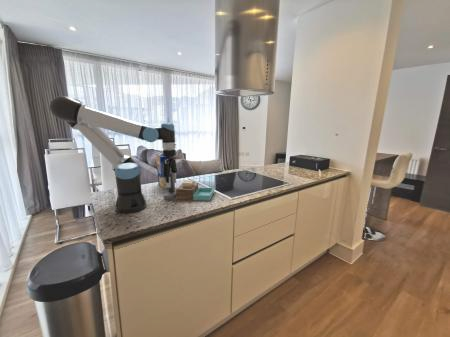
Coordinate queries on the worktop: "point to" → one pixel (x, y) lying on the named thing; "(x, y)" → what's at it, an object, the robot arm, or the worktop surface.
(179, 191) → the brown wooden box
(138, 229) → the worktop surface
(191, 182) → the tile
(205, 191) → the tray
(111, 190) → the worktop surface
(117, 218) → the worktop surface
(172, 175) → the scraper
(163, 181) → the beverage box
